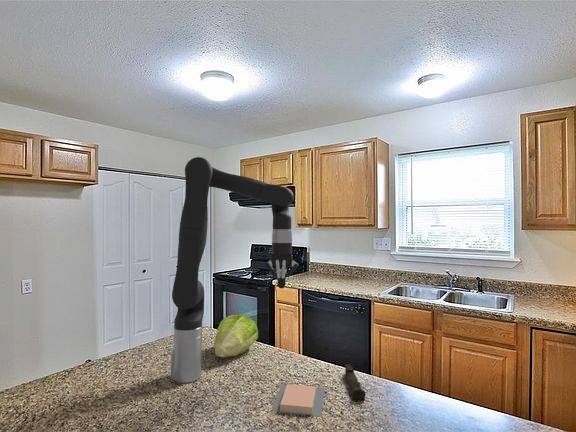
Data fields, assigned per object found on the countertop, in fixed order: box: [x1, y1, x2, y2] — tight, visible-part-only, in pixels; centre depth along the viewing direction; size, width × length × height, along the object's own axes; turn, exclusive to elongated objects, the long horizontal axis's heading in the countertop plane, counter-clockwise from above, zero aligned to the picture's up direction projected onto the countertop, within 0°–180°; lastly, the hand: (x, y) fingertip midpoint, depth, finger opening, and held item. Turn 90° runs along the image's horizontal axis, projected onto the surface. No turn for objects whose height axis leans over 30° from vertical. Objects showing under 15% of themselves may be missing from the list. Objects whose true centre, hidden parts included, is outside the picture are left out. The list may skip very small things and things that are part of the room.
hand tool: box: [344, 363, 366, 402], centre depth 109 cm, size 19×4×5 cm, turn 178°
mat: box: [270, 383, 326, 417], centre depth 100 cm, size 14×16×1 cm
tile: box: [279, 383, 317, 416], centre depth 99 cm, size 9×2×12 cm
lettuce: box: [213, 313, 259, 358], centre depth 137 cm, size 17×24×14 cm
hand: (281, 288), depth 125 cm, fingers closed
